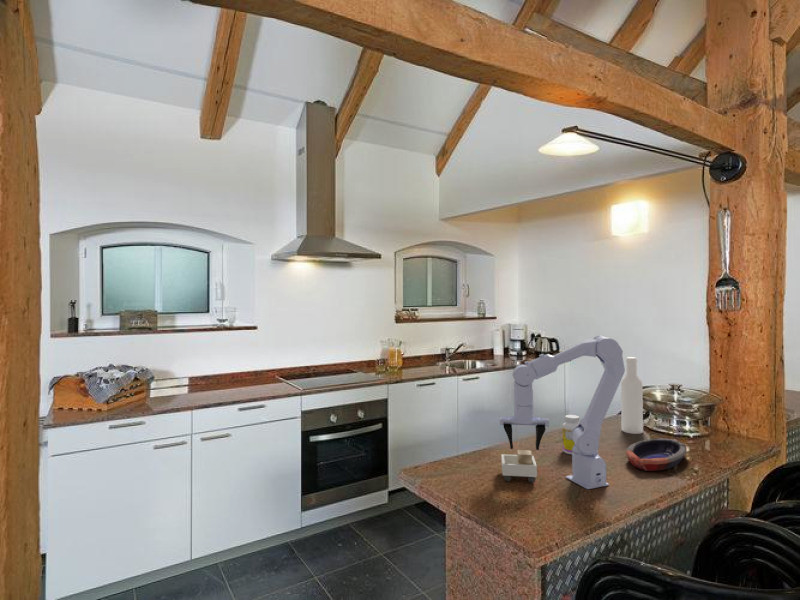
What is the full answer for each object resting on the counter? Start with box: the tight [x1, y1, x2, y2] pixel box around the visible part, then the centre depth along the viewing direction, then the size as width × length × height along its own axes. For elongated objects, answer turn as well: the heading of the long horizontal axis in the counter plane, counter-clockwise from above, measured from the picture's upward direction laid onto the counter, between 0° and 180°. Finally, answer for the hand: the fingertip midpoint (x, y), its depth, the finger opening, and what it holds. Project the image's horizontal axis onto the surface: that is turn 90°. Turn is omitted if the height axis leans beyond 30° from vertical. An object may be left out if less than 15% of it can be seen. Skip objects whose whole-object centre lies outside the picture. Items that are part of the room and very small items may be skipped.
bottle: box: [620, 356, 644, 435], centre depth 190 cm, size 8×8×30 cm
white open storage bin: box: [500, 453, 538, 483], centre depth 145 cm, size 10×9×5 cm
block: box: [516, 449, 533, 465], centre depth 144 cm, size 4×4×5 cm
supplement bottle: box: [562, 414, 580, 456], centre depth 167 cm, size 7×7×13 cm
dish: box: [625, 438, 687, 472], centre depth 157 cm, size 16×31×5 cm, turn 130°
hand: (524, 448), depth 144 cm, fingers open, 7 cm apart
